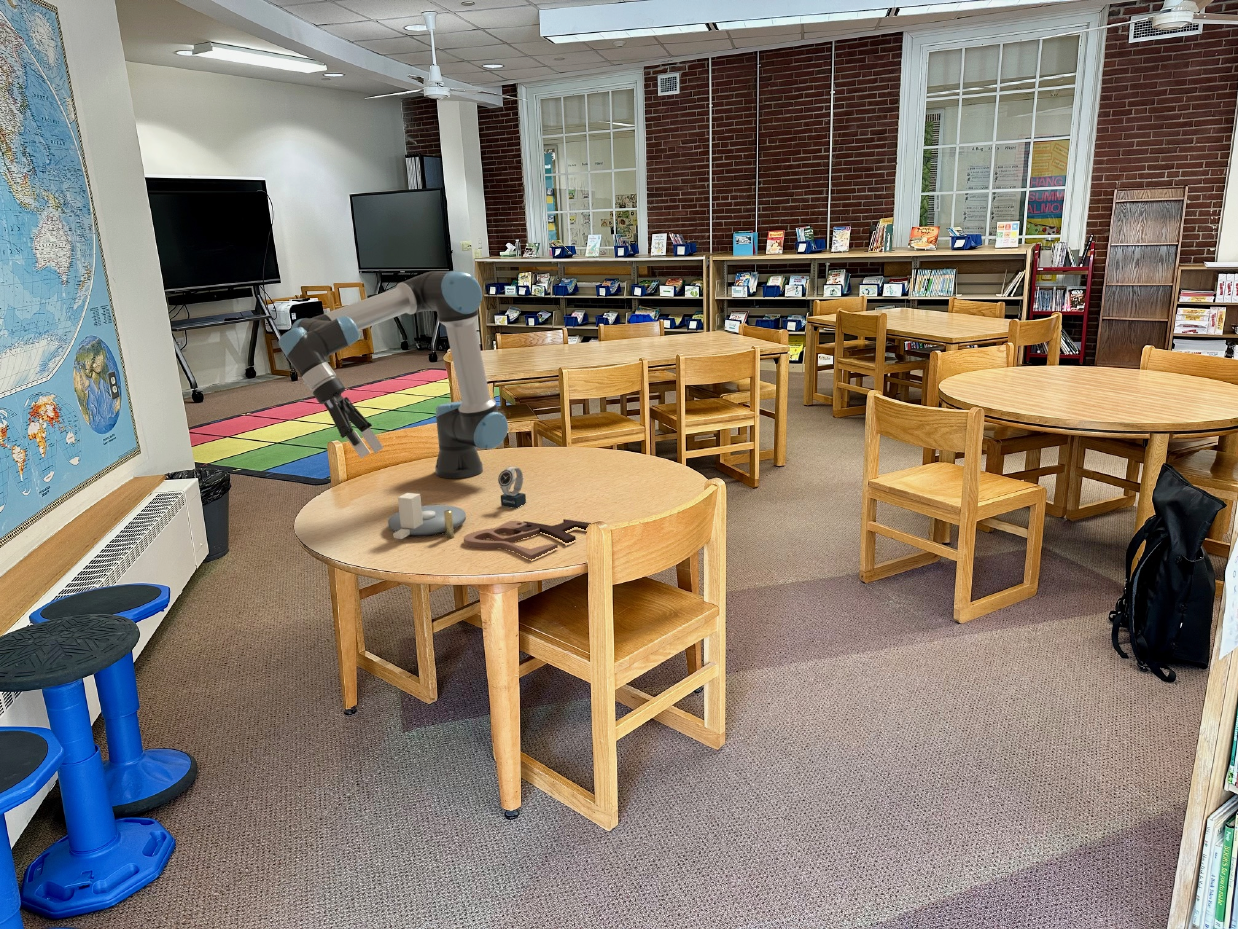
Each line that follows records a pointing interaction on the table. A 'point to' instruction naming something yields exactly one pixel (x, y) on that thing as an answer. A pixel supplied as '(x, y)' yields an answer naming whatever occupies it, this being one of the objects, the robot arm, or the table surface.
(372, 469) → the table surface
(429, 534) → the turntable base
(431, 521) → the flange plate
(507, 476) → the watch
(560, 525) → the wood carving
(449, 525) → the gold domed cylinder
